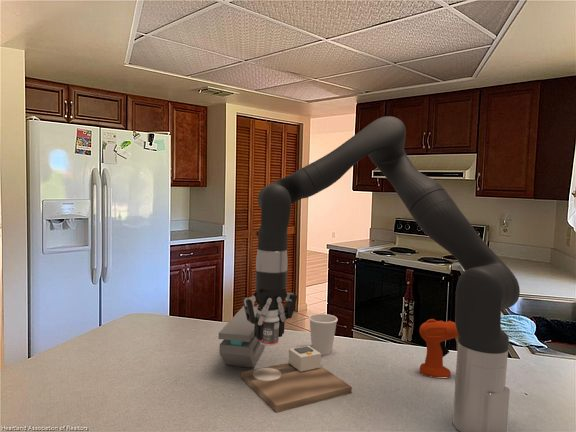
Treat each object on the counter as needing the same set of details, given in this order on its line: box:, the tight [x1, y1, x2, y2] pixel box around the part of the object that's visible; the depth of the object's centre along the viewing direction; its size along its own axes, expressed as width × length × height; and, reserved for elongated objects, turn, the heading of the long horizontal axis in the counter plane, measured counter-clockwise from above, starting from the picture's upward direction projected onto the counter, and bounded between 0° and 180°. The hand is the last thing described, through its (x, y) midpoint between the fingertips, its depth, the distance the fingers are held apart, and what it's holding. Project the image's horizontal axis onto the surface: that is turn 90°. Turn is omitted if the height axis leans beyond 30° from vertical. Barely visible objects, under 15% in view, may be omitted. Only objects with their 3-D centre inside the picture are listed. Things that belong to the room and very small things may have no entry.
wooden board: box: [241, 362, 353, 413], centre depth 104 cm, size 18×20×2 cm
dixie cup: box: [308, 313, 338, 356], centre depth 126 cm, size 8×8×10 cm
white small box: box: [287, 345, 322, 372], centre depth 112 cm, size 6×6×4 cm
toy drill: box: [419, 318, 458, 378], centre depth 113 cm, size 5×19×15 cm, turn 80°
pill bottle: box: [259, 309, 280, 347], centre depth 105 cm, size 5×5×8 cm
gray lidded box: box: [217, 305, 265, 369], centre depth 119 cm, size 25×8×11 cm, turn 172°
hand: (269, 337), depth 105 cm, fingers closed on pill bottle, 4 cm apart
